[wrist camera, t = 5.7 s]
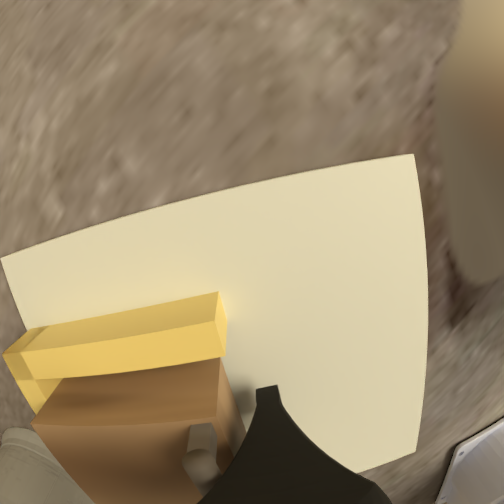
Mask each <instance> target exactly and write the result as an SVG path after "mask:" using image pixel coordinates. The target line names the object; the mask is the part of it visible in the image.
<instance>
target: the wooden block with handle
mask: <svg viewBox="0 0 504 504" xmlns="http://www.w3.org/2000/svg"><path fill="white" fill-rule="evenodd" d="M30 424H31V426H32V427H33V429H34V430H35V431H36V433H37V434H38V436H39V437H40V438H41V440H42V441H43V443H44V444H45V445H46V447H47V448H48V449H49V451H50V452H51V453H52V455H53V456H54V457H55V458H56V460H57V461H58V462H59V463H60V465H61V466H62V467H63V468H64V469H65V471H66V472H67V473H68V474H69V475H70V477H71V478H72V479H73V480H74V481H75V482H76V483H77V485H78V486H79V487H80V488H81V489H82V490H83V491H84V492H85V493H86V494H87V495H88V497H89V498H90V499H91V500H92V501H93V502H94V503H95V504H197V503H198V502H199V501H200V500H201V499H202V498H203V497H204V496H205V495H206V494H207V493H208V492H209V490H210V489H211V488H212V487H213V486H214V485H215V484H216V483H217V481H218V480H219V479H220V478H221V476H222V475H223V474H224V472H225V471H226V469H227V468H228V466H229V465H230V463H231V462H232V460H233V459H234V457H235V455H236V454H237V452H238V450H239V448H240V446H241V444H242V442H243V440H244V438H245V436H246V433H247V432H246V429H245V426H244V424H243V421H242V418H241V415H240V413H239V410H238V407H237V404H236V401H235V398H234V395H233V393H232V390H231V387H230V384H229V381H228V378H227V375H226V372H225V369H224V366H223V363H222V360H221V357H218V358H213V359H207V360H202V361H196V362H190V363H184V364H178V365H172V366H165V367H159V368H152V369H145V370H137V371H129V372H121V373H112V374H103V375H93V376H82V377H70V378H63V379H62V380H61V382H60V383H59V384H58V386H57V387H56V388H55V390H54V391H53V393H52V394H51V395H50V397H49V398H48V399H47V401H46V402H45V403H44V405H43V406H42V408H41V409H40V410H39V412H38V413H37V415H36V416H35V417H34V419H33V420H32V422H31V423H30Z"/></svg>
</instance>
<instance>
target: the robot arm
mask: <svg viewBox="0 0 504 504" xmlns="http://www.w3.org/2000/svg"><path fill="white" fill-rule="evenodd" d="M256 404H257V405H256V409H255V412H254V415H253V418H252V421H251V424H250V426H249V429H248V431H247V433H246V436H245V438H244V440H243V442H242V444H241V446H240V448H239V450H238V452H237V454H236V455H235V457H234V459H233V460H232V462H231V463H230V465H229V466H228V468H227V469H226V471H225V472H224V474H223V475H222V476H221V478H220V479H219V480H218V481H217V483H216V484H215V485H214V486H213V487H212V488H211V489H210V490H209V492H208V493H207V494H206V495H205V496H204V497H203V498H202V499H201V500H200V501H199V502H198V503H197V504H392V503H391V501H390V500H389V498H388V497H387V495H386V494H385V493H384V492H383V491H382V490H381V489H380V487H379V486H378V485H377V484H376V483H375V482H372V481H370V480H368V479H366V478H364V477H362V476H360V475H358V474H356V473H354V472H353V471H351V470H349V469H348V468H346V467H344V466H343V465H341V464H340V463H339V462H337V461H336V460H334V459H333V458H332V457H330V456H329V455H327V454H326V453H325V452H324V451H323V450H321V449H320V448H319V447H318V446H317V445H316V444H315V443H314V442H312V441H311V440H310V439H309V438H308V437H307V436H306V435H305V433H304V432H303V431H302V430H301V429H300V428H299V427H298V425H297V424H296V423H295V422H294V421H293V419H292V418H291V416H290V415H289V414H288V412H287V411H286V409H285V408H284V406H283V404H282V401H281V397H280V393H279V389H278V385H272V386H267V387H263V388H258V389H256ZM445 502H447V504H504V418H503V419H501V420H499V421H498V422H496V423H495V424H493V425H492V426H490V427H488V428H487V429H485V430H483V431H482V432H480V433H478V434H476V435H475V436H473V437H471V438H469V439H468V440H466V441H464V442H462V443H460V444H459V445H458V446H457V447H456V448H455V451H454V454H453V457H452V460H451V463H450V466H449V469H448V471H447V474H446V477H445V480H444V482H443V485H442V487H441V490H440V492H439V495H438V497H437V500H436V502H435V503H436V504H443V503H445Z"/></svg>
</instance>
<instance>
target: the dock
mask: <svg viewBox="0 0 504 504" xmlns="http://www.w3.org/2000/svg"><path fill="white" fill-rule="evenodd" d="M0 259H1V262H2V265H3V268H4V271H5V274H6V277H7V280H8V283H9V286H10V289H11V292H12V295H13V297H14V300H15V303H16V305H17V308H18V310H19V313H20V315H21V318H22V320H23V322H24V325H25V327H26V329H27V332H26V333H25V334H24V335H23V336H22V337H20V338H19V339H18V340H17V341H16V342H15V343H14V344H12V345H11V346H10V347H9V348H8V349H7V350H6V351H5V352H3V353H2V356H3V358H4V360H5V362H6V364H7V365H8V367H9V369H10V371H11V373H12V375H13V377H14V379H15V380H16V382H17V384H18V386H19V388H20V389H21V391H22V393H23V394H24V396H25V398H26V400H27V401H28V403H29V404H30V406H31V408H32V409H33V411H34V412H35V414H36V415H37V413H38V412H39V410H40V409H41V408H42V406H43V405H44V403H45V402H46V401H47V399H48V398H49V397H50V395H51V394H52V393H53V391H54V390H55V388H56V387H57V386H58V384H59V383H60V382H61V380H62V379H63V378H70V377H82V376H93V375H103V374H112V373H121V372H129V371H137V370H145V369H152V368H159V367H165V366H172V365H178V364H184V363H190V362H196V361H202V360H207V359H213V358H218V357H221V360H222V363H223V366H224V369H225V372H226V375H227V378H228V381H229V384H230V387H231V390H232V393H233V395H234V398H235V401H236V404H237V407H238V410H239V413H240V415H241V418H242V421H243V424H244V426H245V429H246V432H247V431H248V429H249V426H250V424H251V421H252V418H253V415H254V412H255V409H256V405H257V404H256V389H258V388H263V387H267V386H272V385H278V389H279V393H280V397H281V401H282V404H283V406H284V408H285V409H286V411H287V412H288V414H289V415H290V416H291V418H292V419H293V421H294V422H295V423H296V424H297V425H298V427H299V428H300V429H301V430H302V431H303V432H304V433H305V435H306V436H307V437H308V438H309V439H310V440H311V441H312V442H314V443H315V444H316V445H317V446H318V447H319V448H320V449H321V450H323V451H324V452H325V453H326V454H327V455H329V456H330V457H332V458H333V459H334V460H336V461H337V462H339V463H340V464H341V465H343V466H344V467H346V468H348V469H349V470H351V471H353V472H354V473H359V472H362V471H365V470H368V469H371V468H374V467H377V466H379V465H382V464H385V463H388V462H390V461H393V460H395V459H398V458H401V457H403V456H406V455H408V454H410V453H413V452H415V451H416V445H417V439H418V433H419V427H420V420H421V412H422V404H423V395H424V385H425V374H426V359H427V338H428V281H427V260H426V245H425V233H424V223H423V214H422V205H421V198H420V190H419V183H418V177H417V171H416V165H415V159H414V154H406V155H397V156H390V157H384V158H378V159H372V160H366V161H360V162H354V163H348V164H343V165H337V166H332V167H326V168H321V169H316V170H311V171H306V172H301V173H296V174H291V175H286V176H281V177H277V178H272V179H268V180H263V181H258V182H254V183H250V184H245V185H241V186H237V187H232V188H228V189H224V190H220V191H216V192H212V193H208V194H204V195H200V196H196V197H192V198H188V199H184V200H181V201H177V202H173V203H169V204H166V205H162V206H158V207H155V208H151V209H148V210H144V211H141V212H137V213H134V214H130V215H127V216H123V217H120V218H117V219H113V220H110V221H107V222H104V223H100V224H97V225H94V226H91V227H88V228H84V229H81V230H78V231H75V232H72V233H69V234H66V235H63V236H60V237H57V238H54V239H51V240H48V241H45V242H42V243H40V244H37V245H34V246H31V247H28V248H25V249H23V250H20V251H17V252H14V253H12V254H10V255H7V256H5V257H3V258H0Z"/></svg>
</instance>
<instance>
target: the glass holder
mask: <svg viewBox="0 0 504 504" xmlns="http://www.w3.org/2000/svg"><path fill="white" fill-rule="evenodd" d="M0 504H95V503H94V502H93V501H92V500H91V499H90V498H89V497H88V495H87V494H86V493H85V492H84V491H83V490H82V489H81V488H80V487H79V486H78V485H77V483H76V482H75V481H74V480H73V479H72V478H71V477H70V475H69V474H68V473H67V472H66V471H65V469H64V468H63V467H62V466H61V465H60V463H59V462H58V461H57V460H56V458H55V457H54V456H53V455H52V453H51V452H50V451H49V449H48V448H47V447H46V445H45V444H44V443H43V441H42V440H41V438H40V437H39V436H38V434H37V433H36V432H35V431H32V430H29V429H25V428H20V427H10V428H8V429H6V430H5V432H4V433H3V436H2V445H1V447H0Z"/></svg>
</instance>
